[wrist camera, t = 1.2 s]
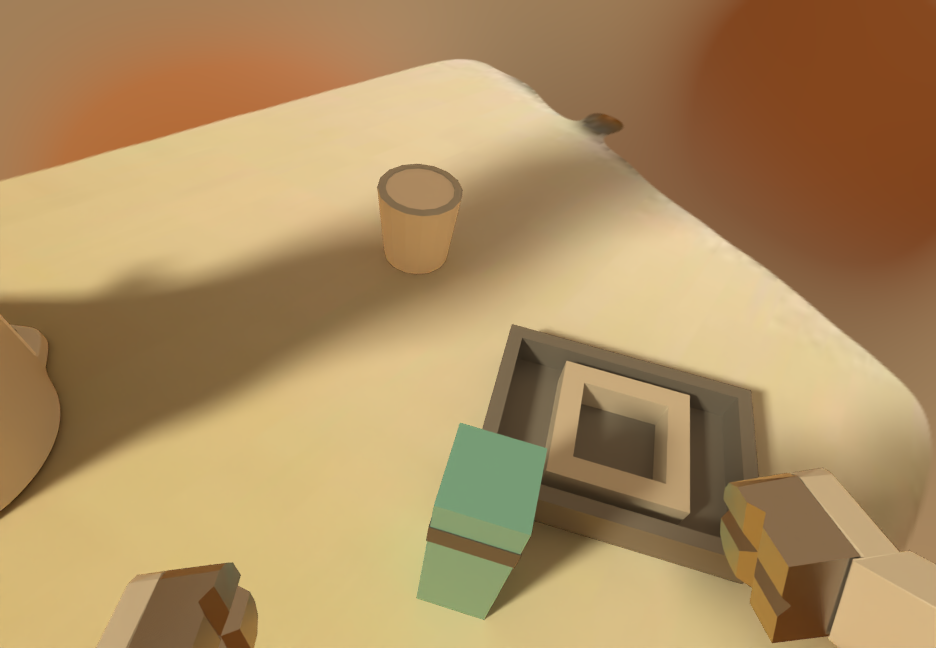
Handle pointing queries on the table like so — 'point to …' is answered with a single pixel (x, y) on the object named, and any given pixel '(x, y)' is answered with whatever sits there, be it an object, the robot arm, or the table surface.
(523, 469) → the plug
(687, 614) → the table surface
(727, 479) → the grey tray
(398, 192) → the beige cylinder
